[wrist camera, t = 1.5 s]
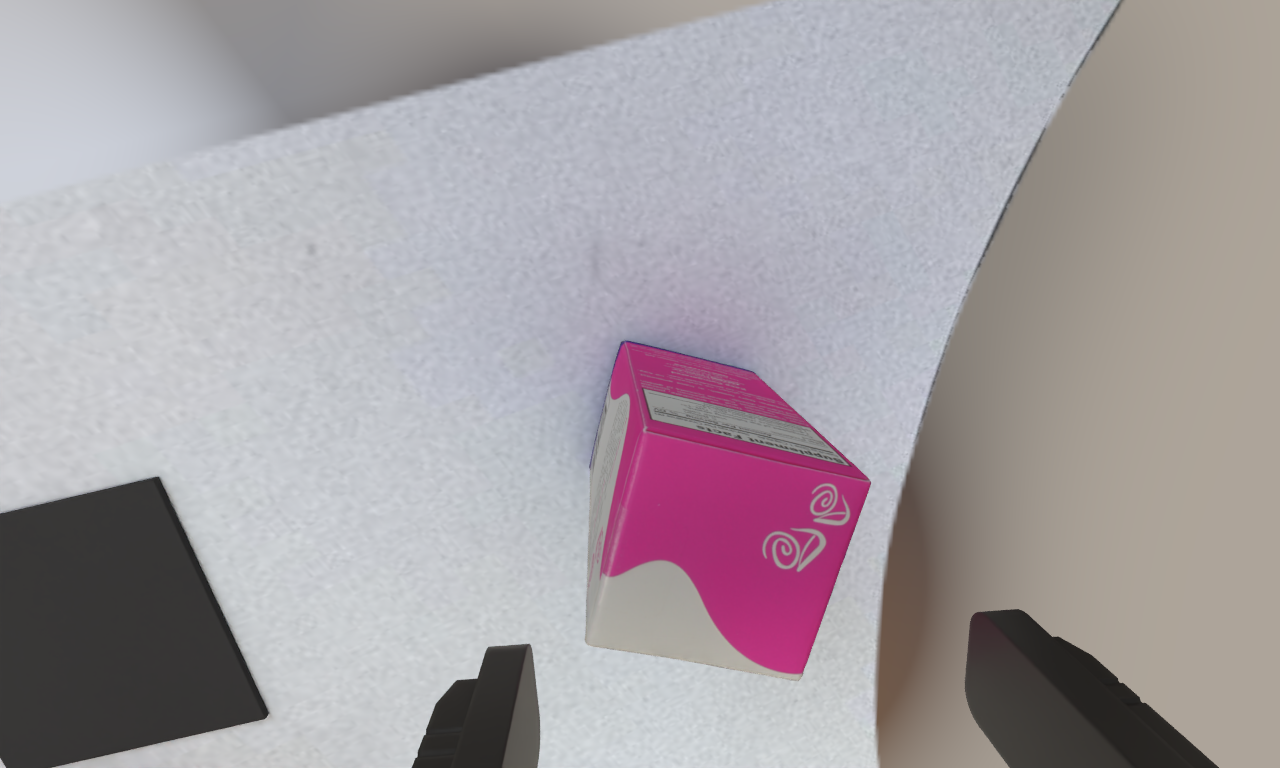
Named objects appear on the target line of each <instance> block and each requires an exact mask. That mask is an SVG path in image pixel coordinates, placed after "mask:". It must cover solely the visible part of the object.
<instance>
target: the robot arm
mask: <svg viewBox="0 0 1280 768" xmlns="http://www.w3.org/2000/svg"><path fill="white" fill-rule="evenodd" d="M965 692H966V698H967V702H968V705H969V708H970V711H971V713H972V715H973V717H974V719H975V721H976V723H977V724H978V725H979V727H980V728H981V730H982V731H983V732H984V734H985V735H986V736H987V737H988V739H989V740H990V742H991V743H992V744H993V746H994V747H995V748H996V750H997V751H998V752H999V754H1000V755H1001V757H1002V758H1003V759H1004V761H1005V762H1006V763H1007V764H1008V766H1009V767H1010V768H1219V767H1218V766H1217V765H1215V764H1214V763H1213V762H1212V761H1211V760H1209V758H1207V757H1206V756H1205V755H1204V754H1203V753H1202V752H1201V751H1200V750H1198V749H1197V748H1196V747H1195V746H1194V745H1193V744H1192V743H1191V742H1189V741H1188V740H1187V739H1186V738H1185V737H1184V736H1183V735H1181V734H1180V733H1179V732H1178V731H1177V730H1176V729H1174V727H1172V726H1171V725H1170V724H1169V723H1168V722H1167V721H1166V720H1164V719H1163V718H1162V717H1161V716H1160V715H1159V714H1158V713H1157V712H1155V711H1154V710H1153V709H1152V708H1151V707H1150V706H1149V705H1147V704H1146V703H1142V702H1141V701H1140V697H1138V696H1137V695H1136V694H1135V693H1134V692H1133V691H1132V690H1131V689H1129V688H1128V687H1127V686H1126V685H1125V684H1124V683H1119V681H1118V678H1117V677H1116V676H1115V675H1114V674H1112V673H1111V672H1110V671H1109V670H1108V669H1107V668H1106V667H1104V666H1103V665H1102V664H1101V663H1100V662H1099V661H1098V660H1097V659H1095V658H1094V657H1093V656H1092V655H1090V654H1089V653H1087V652H1084V651H1083V650H1081V649H1080V648H1078V647H1076V646H1074V645H1072V644H1071V643H1069V642H1067V641H1065V640H1063V639H1062V638H1060V637H1052V636H1051V635H1049V634H1048V633H1047V632H1046V631H1045V630H1044V629H1043V628H1042V627H1041V626H1040V625H1039V624H1037V622H1035V621H1034V620H1033V619H1032V618H1031V617H1030V616H1029V615H1028V614H1027V613H1025V612H1024V611H1022V610H1019V609H1015V610H1001V611H987V612H977V613H975V614H974V615H973V616H972V618H971V621H970V630H969V642H968V654H967V665H966V677H965ZM539 749H540V716H539V706H538V698H537V689H536V680H535V671H534V662H533V653H532V648H531V645H530V644H522V645H508V646H495V647H488V648H487V650H486V653H485V656H484V659H483V663H482V666H481V669H480V672H479V676H478V679H468V680H457V681H456V682H455V683H454V684H453V685H452V686H451V687H450V688H449V690H448V691H447V692H446V693H445V694H444V695H443V696H442V698H441V699H440V700H439V701H438V702H437V703H436V705H435V708H434V711H433V713H432V716H431V719H430V721H429V724H428V727H427V729H426V735H424V737H423V740H422V742H421V745H420V748H419V750H418V757H417V758H415V761H414V764H413V766H412V768H537V766H538V759H539Z"/></svg>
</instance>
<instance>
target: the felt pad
mask: <svg viewBox="0 0 1280 768" xmlns="http://www.w3.org/2000/svg"><path fill="white" fill-rule="evenodd" d="M267 716H268V712H267V710H266V708H265V706H264V703H263V701H262V699H261V697H260V695H259V693H258V691H257V688H256V686H255V684H254V682H253V680H252V678H251V675H250V673H249V671H248V669H247V667H246V665H245V663H244V660H243V658H242V656H241V654H240V652H239V650H238V648H237V645H236V643H235V641H234V639H233V637H232V635H231V633H230V630H229V628H228V626H227V624H226V622H225V620H224V618H223V615H222V613H221V611H220V609H219V607H218V605H217V603H216V600H215V598H214V596H213V594H212V592H211V590H210V588H209V585H208V583H207V581H206V579H205V577H204V575H203V573H202V570H201V568H200V566H199V564H198V562H197V560H196V557H195V555H194V553H193V551H192V549H191V547H190V545H189V542H188V540H187V538H186V536H185V534H184V532H183V530H182V527H181V525H180V523H179V521H178V519H177V517H176V515H175V512H174V510H173V508H172V506H171V504H170V502H169V500H168V497H167V495H166V493H165V491H164V489H163V487H162V485H161V482H160V480H159V478H158V477H155V478H151V479H147V480H143V481H138V482H134V483H130V484H126V485H121V486H117V487H113V488H109V489H104V490H100V491H96V492H92V493H87V494H83V495H79V496H75V497H70V498H66V499H62V500H58V501H53V502H49V503H45V504H41V505H36V506H32V507H28V508H24V509H19V510H15V511H11V512H7V513H2V514H0V758H1V760H2V761H3V763H4V765H5V766H6V768H52V767H56V766H60V765H65V764H69V763H73V762H78V761H82V760H87V759H91V758H95V757H100V756H104V755H109V754H113V753H117V752H122V751H126V750H131V749H135V748H139V747H144V746H148V745H153V744H157V743H161V742H166V741H170V740H174V739H179V738H183V737H188V736H192V735H196V734H201V733H205V732H210V731H214V730H218V729H223V728H227V727H232V726H236V725H240V724H245V723H249V722H253V721H258V720H262V719H265V718H266V717H267Z"/></svg>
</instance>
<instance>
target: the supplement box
mask: <svg viewBox="0 0 1280 768" xmlns="http://www.w3.org/2000/svg"><path fill="white" fill-rule="evenodd" d="M589 468H590V510H589V537H588V571H587V600H586V635H585V642H586V644H587V645H589V646H593V647H600V648H607V649H613V650H620V651H627V652H633V653H640V654H646V655H653V656H659V657H666V658H672V659H678V660H684V661H689V662H695V663H701V664H707V665H712V666H717V667H722V668H728V669H733V670H739V671H744V672H749V673H755V674H761V675H766V676H771V677H776V678H783V679H788V680H793V681H799V680H800V679H801V677H802V675H803V671H804V668H805V666H806V663H807V661H808V658H809V655H810V652H811V649H812V646H813V644H814V641H815V638H816V635H817V632H818V630H819V627H820V624H821V621H822V619H823V616H824V613H825V610H826V607H827V605H828V602H829V599H830V596H831V593H832V591H833V588H834V585H835V582H836V579H837V576H838V573H839V571H840V568H841V565H842V563H843V560H844V558H845V555H846V552H847V549H848V546H849V543H850V540H851V538H852V535H853V532H854V530H855V527H856V524H857V521H858V519H859V516H860V513H861V510H862V507H863V505H864V502H865V499H866V496H867V494H868V491H869V488H870V485H871V481H870V480H869V479H868V478H867V477H866V476H865V475H864V474H863V473H862V472H861V471H860V470H859V469H858V468H857V467H856V466H855V465H854V464H853V463H852V462H850V461H849V460H848V459H847V458H846V457H845V456H844V455H843V454H842V453H841V452H840V451H838V450H837V449H836V448H835V447H834V446H833V445H832V444H831V443H830V442H829V441H828V440H827V439H825V438H824V437H823V436H822V435H821V434H820V433H819V432H818V431H817V430H816V429H815V428H813V427H812V426H811V425H810V424H809V423H808V422H807V421H806V420H805V419H804V418H802V417H801V416H800V415H799V414H798V413H797V412H796V411H795V410H794V409H793V408H791V407H790V406H789V405H788V404H787V403H786V402H785V401H784V400H783V399H782V398H781V397H780V396H779V395H778V394H777V393H775V392H774V391H773V390H772V389H771V388H770V387H769V386H768V385H767V384H766V383H765V382H764V381H762V380H761V379H760V378H759V377H758V376H757V375H756V374H755V373H754V372H752V371H749V370H745V369H741V368H737V367H733V366H729V365H725V364H721V363H717V362H713V361H709V360H705V359H701V358H697V357H693V356H689V355H685V354H681V353H677V352H673V351H669V350H665V349H661V348H657V347H652V346H648V345H644V344H639V343H635V342H630V341H623V342H622V343H621V345H620V348H619V350H618V353H617V357H616V360H615V364H614V367H613V371H612V375H611V378H610V382H609V386H608V390H607V394H606V398H605V402H604V406H603V410H602V414H601V418H600V422H599V426H598V430H597V435H596V439H595V443H594V448H593V452H592V457H591V462H590V466H589Z"/></svg>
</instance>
